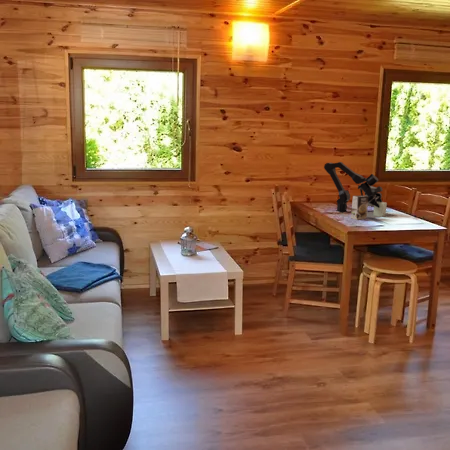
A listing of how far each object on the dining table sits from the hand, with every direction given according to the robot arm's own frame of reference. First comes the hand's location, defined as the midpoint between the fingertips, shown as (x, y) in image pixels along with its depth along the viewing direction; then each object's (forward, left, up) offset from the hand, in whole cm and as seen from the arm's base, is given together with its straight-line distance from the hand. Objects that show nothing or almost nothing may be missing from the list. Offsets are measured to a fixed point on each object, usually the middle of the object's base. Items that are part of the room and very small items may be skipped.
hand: (381, 206), depth 376 cm
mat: (0, +5, -7) cm, 9 cm away
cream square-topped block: (0, +1, -7) cm, 7 cm away
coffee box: (-22, -2, -7) cm, 23 cm away
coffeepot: (+23, +41, -7) cm, 47 cm away
